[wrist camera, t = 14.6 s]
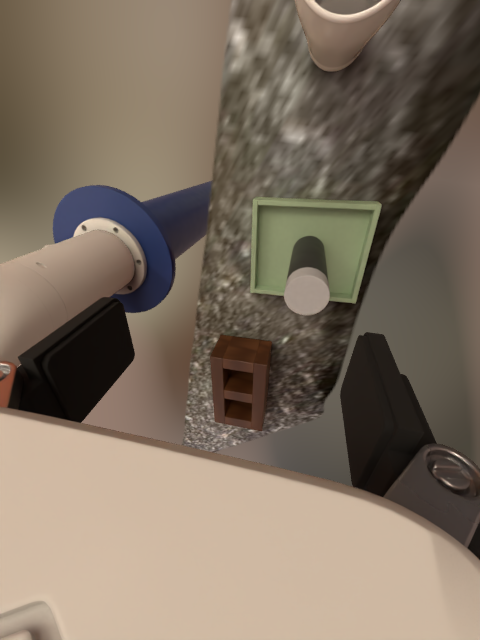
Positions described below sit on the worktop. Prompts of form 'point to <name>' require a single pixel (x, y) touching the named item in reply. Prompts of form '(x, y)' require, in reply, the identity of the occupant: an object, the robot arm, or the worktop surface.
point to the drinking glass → (341, 28)
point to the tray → (319, 221)
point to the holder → (240, 381)
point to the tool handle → (307, 277)
